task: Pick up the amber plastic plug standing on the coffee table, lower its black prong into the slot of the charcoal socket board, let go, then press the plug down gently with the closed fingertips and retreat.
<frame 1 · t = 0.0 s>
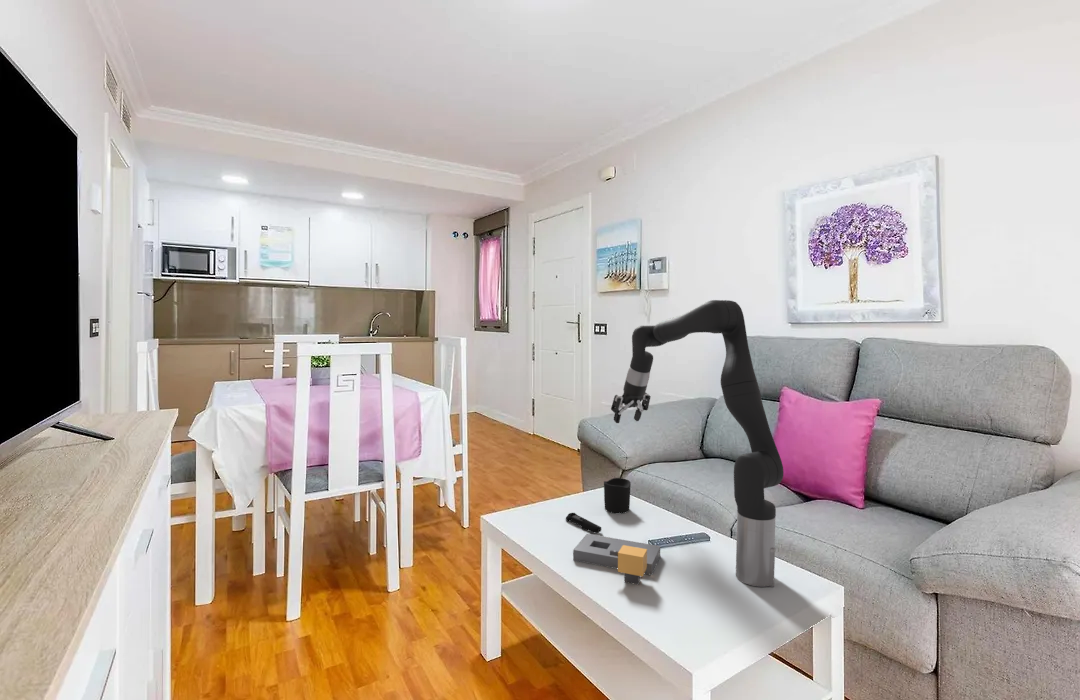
hand: (626, 421, 186), 31 cm above the table, tool tilted 20°, fingers open, 8 cm apart
plug: (632, 581, 136), on the table
pen holder: (616, 510, 186), on the table
electric trimmer: (583, 527, 171), on the table
socket board: (617, 558, 148), on the table
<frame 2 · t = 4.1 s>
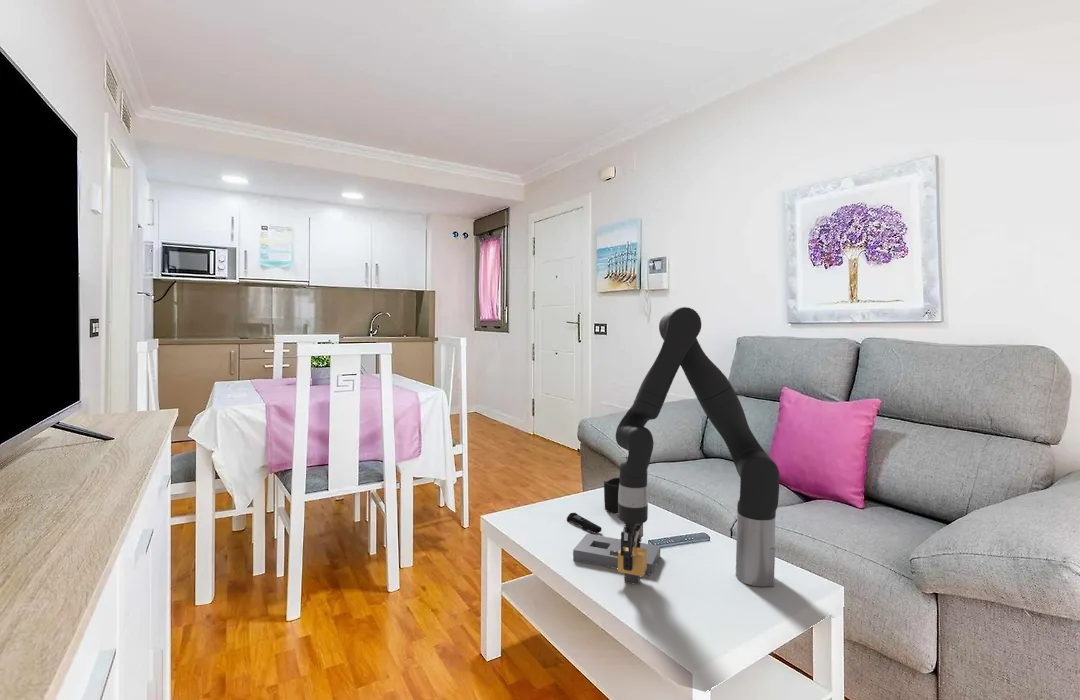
hand: (631, 562, 135), 5 cm above the table, tool pointing down, fingers open, 8 cm apart
nothing on the table moved.
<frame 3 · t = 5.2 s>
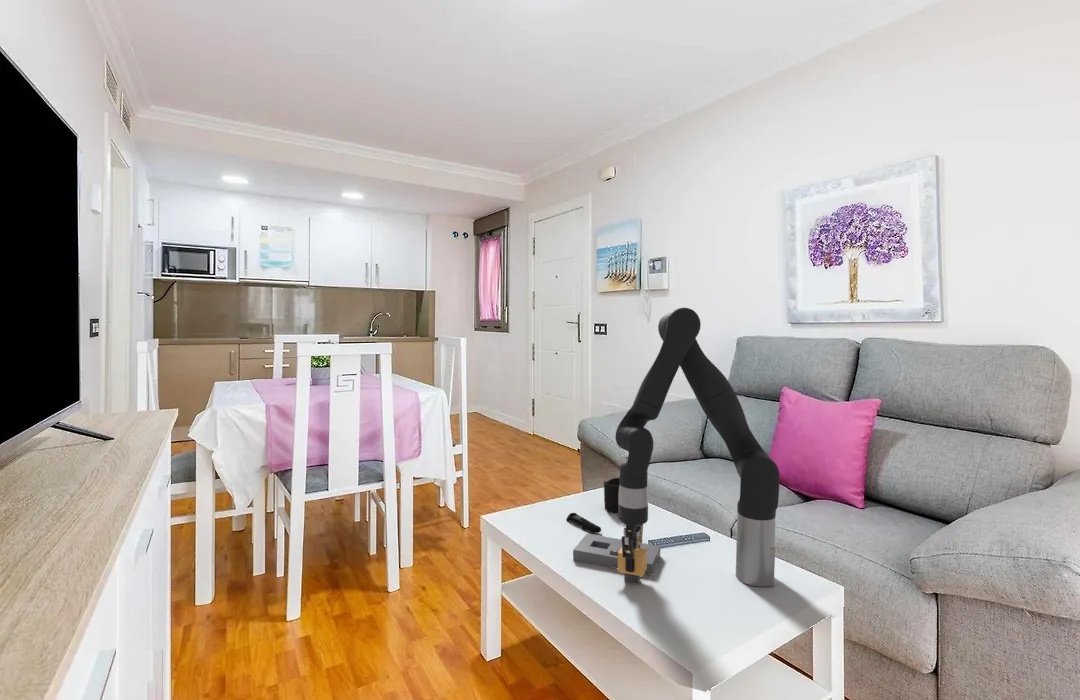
hand: (632, 566, 135), 4 cm above the table, tool pointing down, fingers closed on plug, 5 cm apart
plug: (632, 581, 136), on the table, touching gripper
everything else where it was.
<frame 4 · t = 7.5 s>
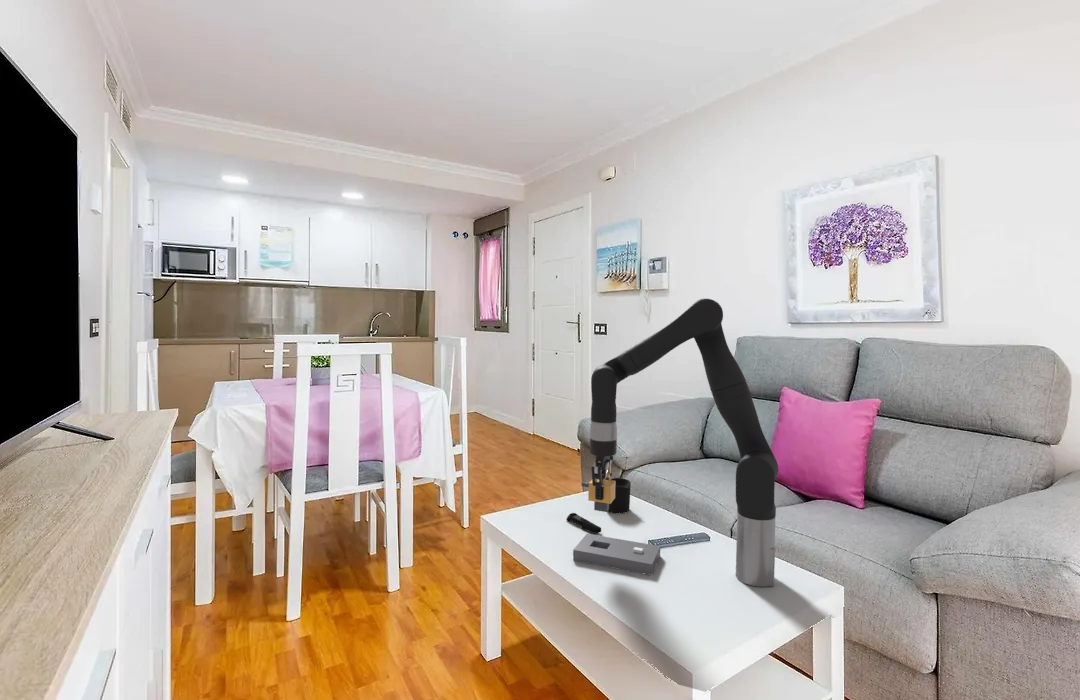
hand: (602, 496, 148), 18 cm above the table, tool pointing down, fingers closed on plug, 5 cm apart
plug: (601, 509, 148), point 14 cm above the table, touching gripper
everything else where it was.
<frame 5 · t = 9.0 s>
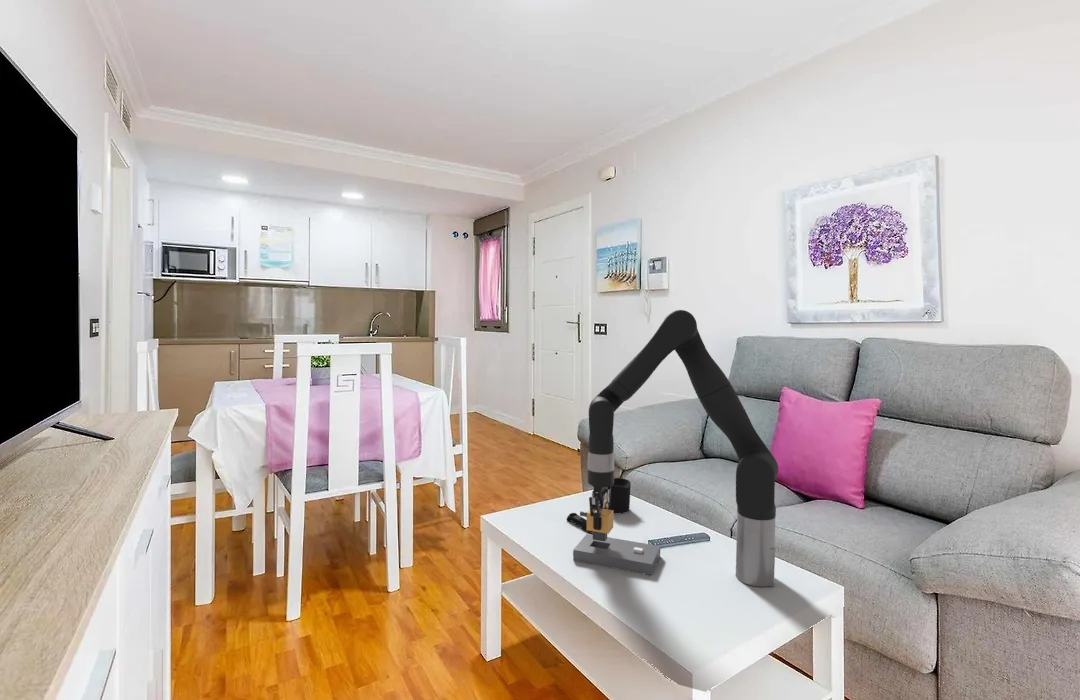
hand: (600, 525, 150), 9 cm above the table, tool pointing down, fingers closed on plug, 5 cm apart
plug: (599, 538, 150), point 5 cm above the table, touching gripper
everything else where it was.
when the fingers open (5 cm above the table, at t = 10.9 s): plug stays where it is, resting on socket board.
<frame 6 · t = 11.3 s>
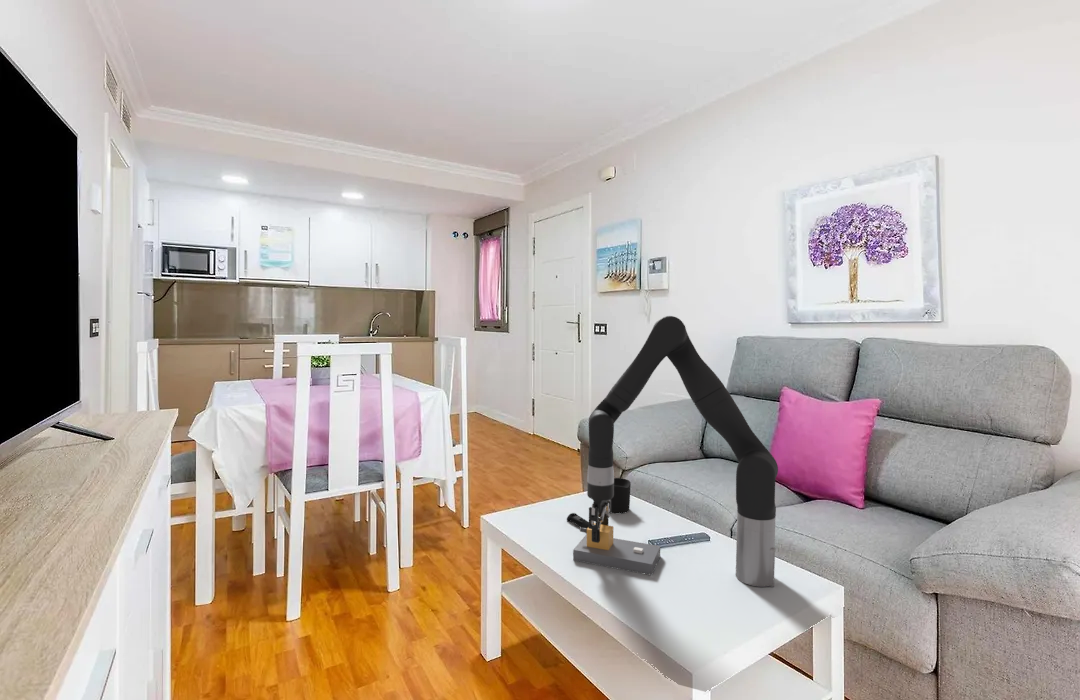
hand: (600, 536, 150), 6 cm above the table, tool pointing down, fingers open, 8 cm apart
plug: (600, 555, 150), resting on socket board
everything else where it was.
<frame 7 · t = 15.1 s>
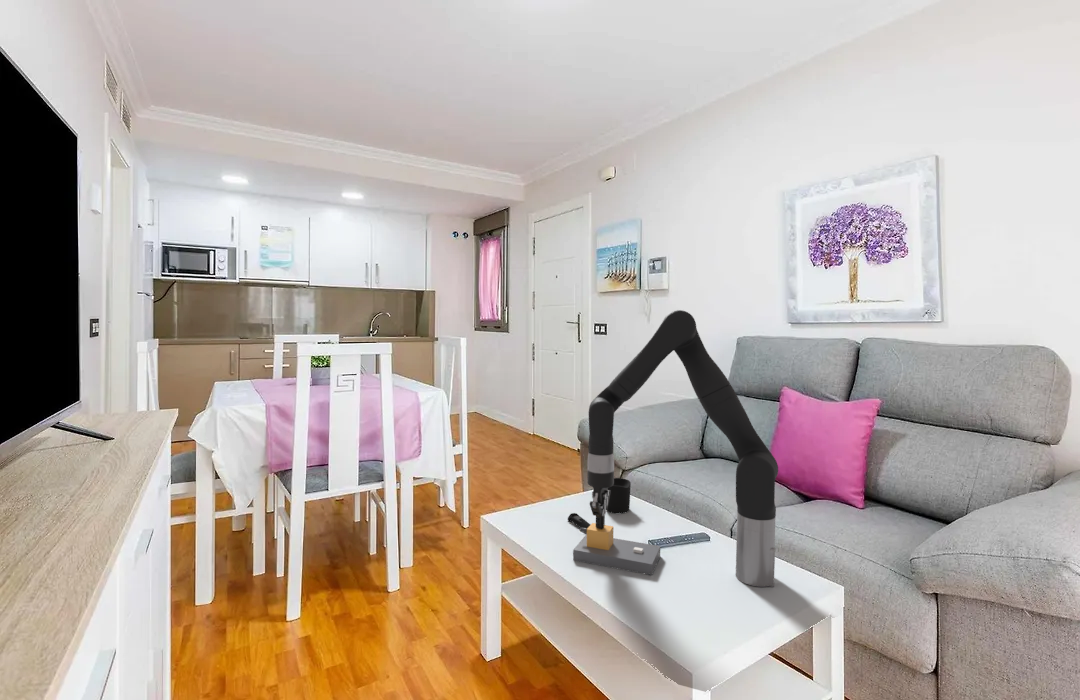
hand: (600, 527, 150), 8 cm above the table, tool pointing down, fingers closed
plug: (600, 555, 150), resting on socket board, touching gripper
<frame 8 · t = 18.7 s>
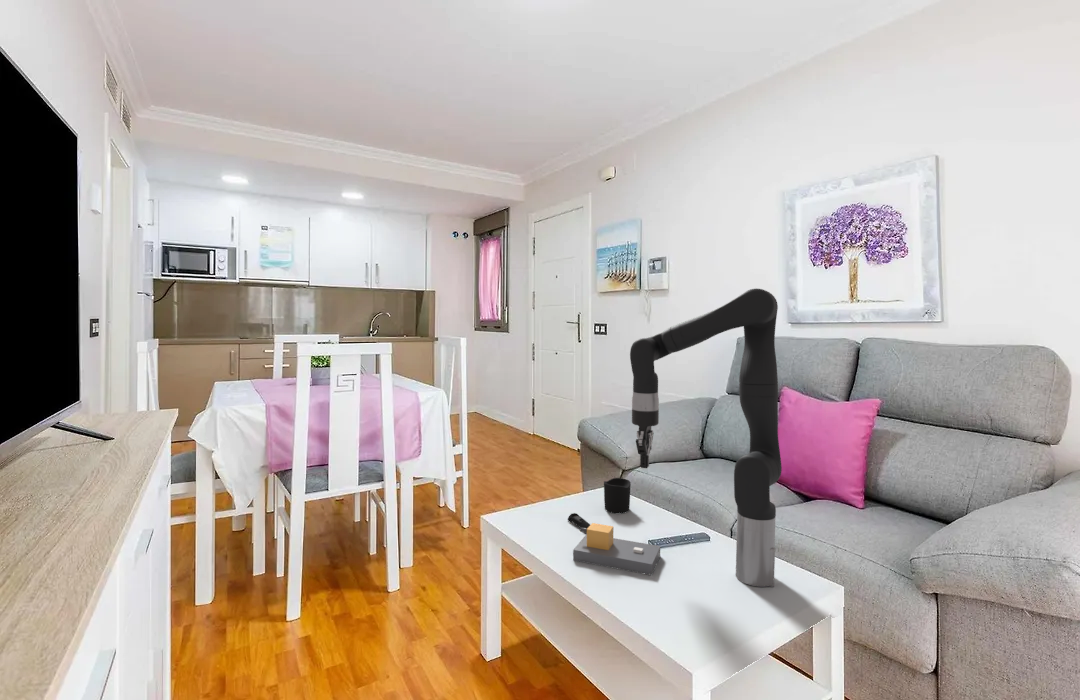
hand: (644, 467, 151), 25 cm above the table, tool pointing down, fingers closed
plug: (600, 555, 150), resting on socket board
at the end: plug 0.0 cm from the target spot on the socket board, point 0.0 cm above the socket board's base; plug tilted 0°; the gripper is holding nothing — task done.
